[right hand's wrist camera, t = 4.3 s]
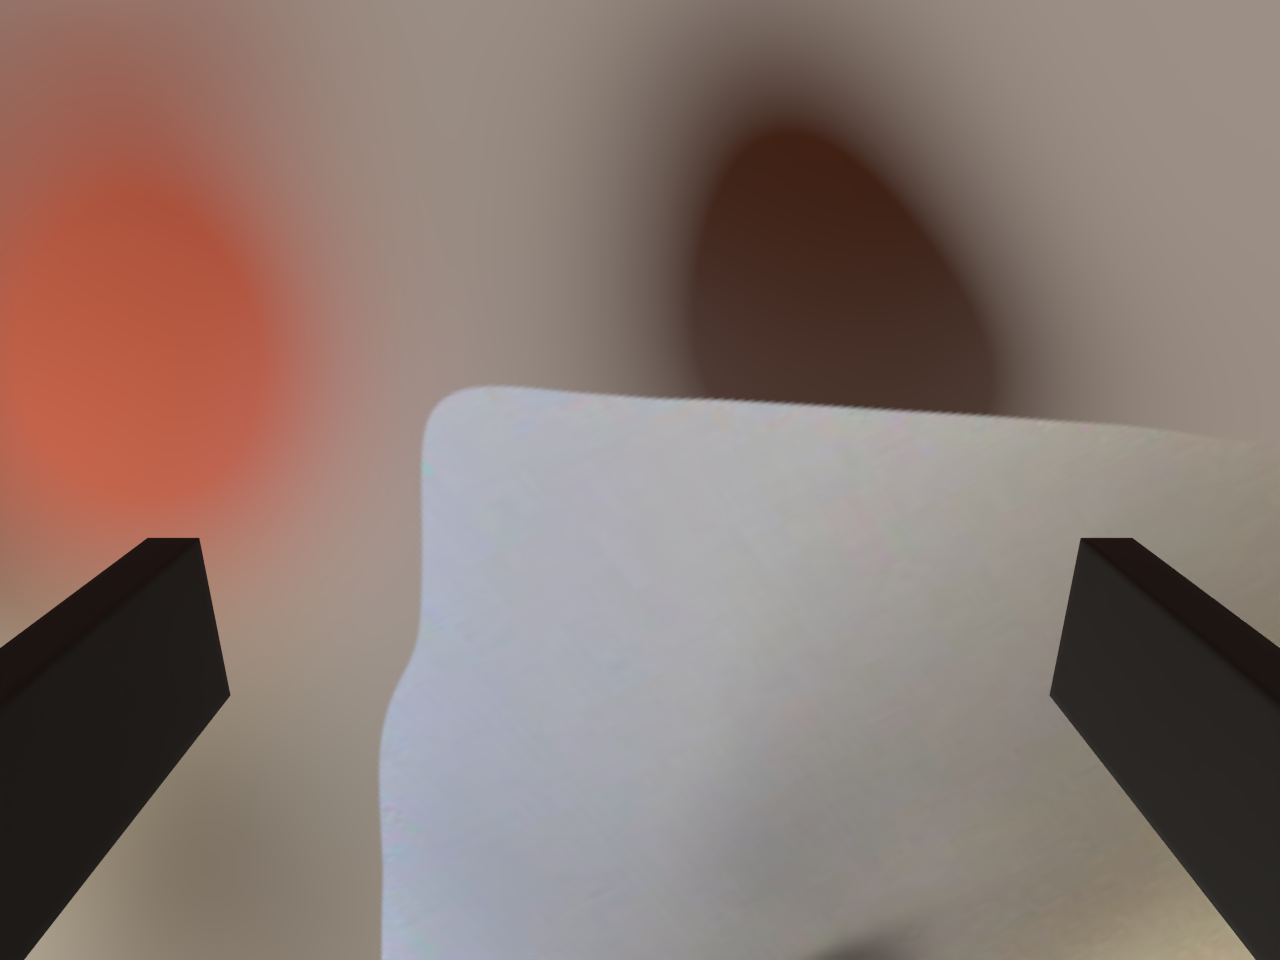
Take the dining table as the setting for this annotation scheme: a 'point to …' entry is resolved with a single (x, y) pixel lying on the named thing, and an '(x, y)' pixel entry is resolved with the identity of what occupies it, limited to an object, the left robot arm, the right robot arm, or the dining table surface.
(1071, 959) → the dining table surface
